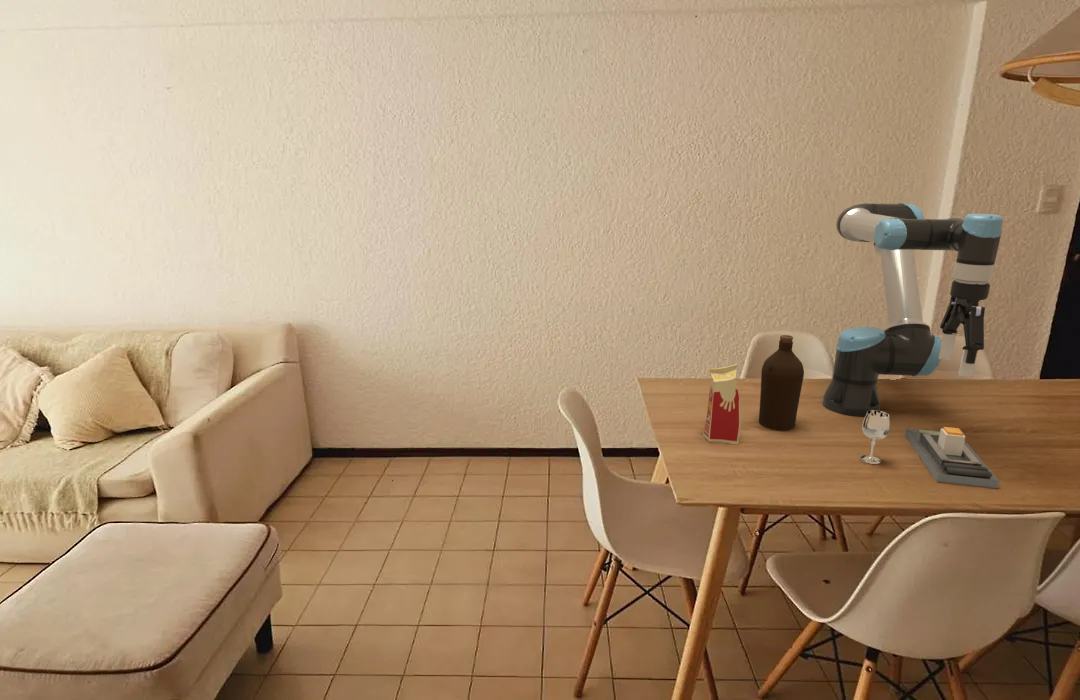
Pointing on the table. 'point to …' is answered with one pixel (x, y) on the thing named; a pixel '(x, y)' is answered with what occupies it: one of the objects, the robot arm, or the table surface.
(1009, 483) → the table surface
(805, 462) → the table surface
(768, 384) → the olive oil
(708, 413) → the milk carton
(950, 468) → the twin grey rollers
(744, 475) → the table surface
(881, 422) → the wineglass
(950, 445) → the toggle
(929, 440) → the panel
